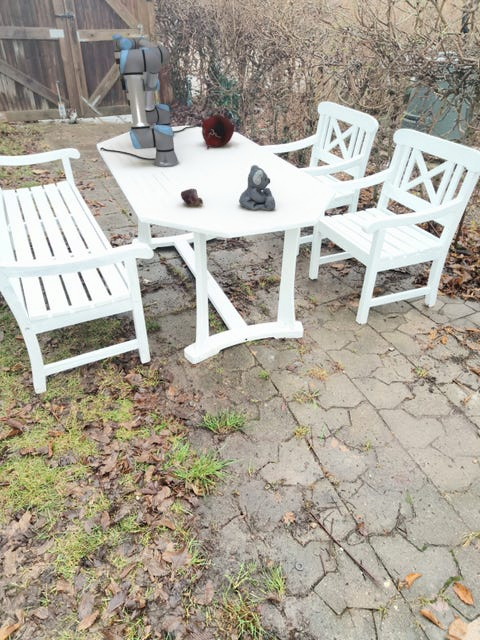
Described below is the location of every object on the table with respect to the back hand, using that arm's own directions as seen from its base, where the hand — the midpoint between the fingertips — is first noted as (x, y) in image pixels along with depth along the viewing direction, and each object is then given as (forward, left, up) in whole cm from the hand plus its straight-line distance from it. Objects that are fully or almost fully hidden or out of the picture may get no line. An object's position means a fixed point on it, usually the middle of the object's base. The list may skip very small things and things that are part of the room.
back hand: (124, 88), depth 359 cm
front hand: (+38, +42, -23) cm, 61 cm away
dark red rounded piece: (+6, +92, -32) cm, 97 cm away
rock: (+118, +148, -32) cm, 192 cm away
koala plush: (+103, +178, -32) cm, 208 cm away
